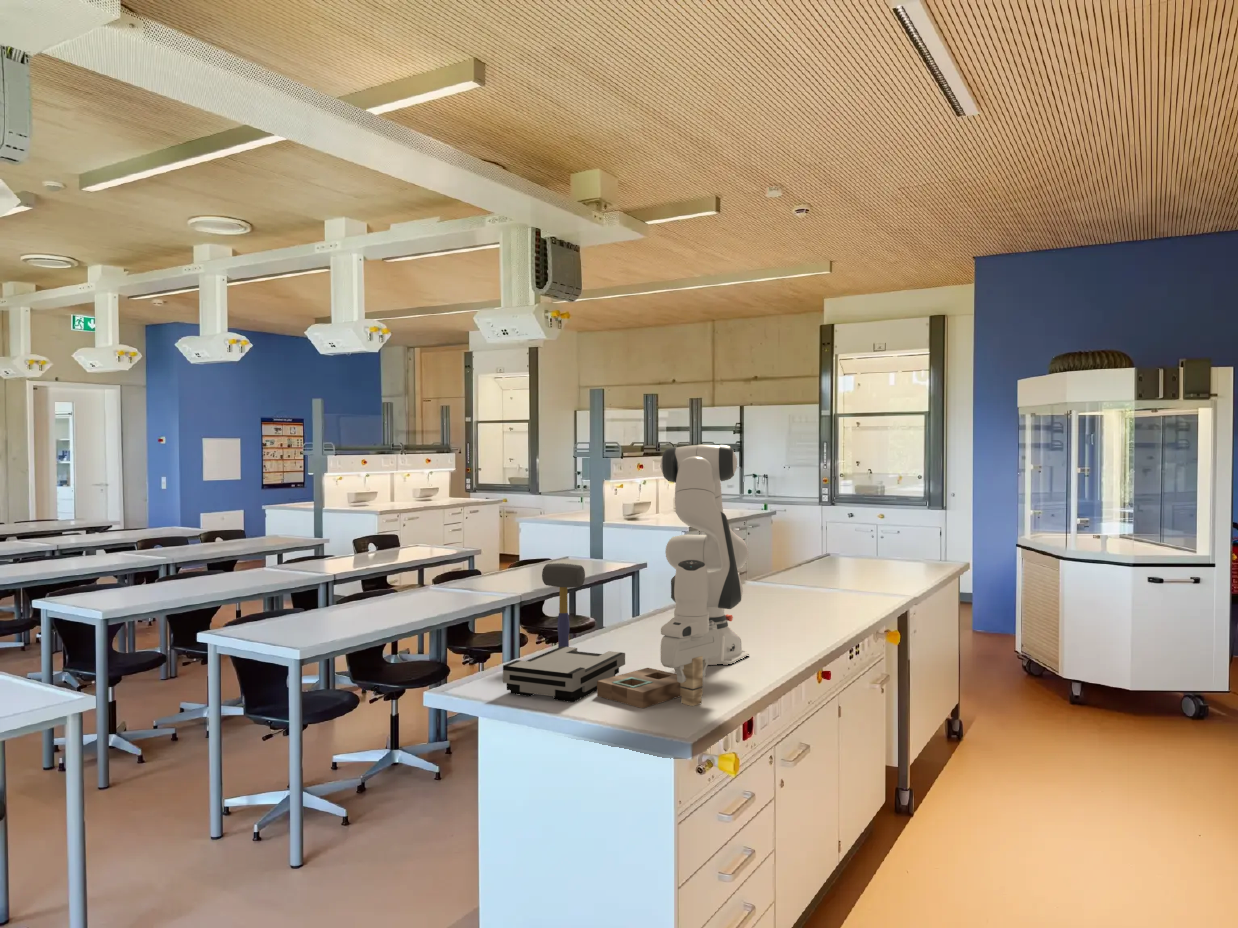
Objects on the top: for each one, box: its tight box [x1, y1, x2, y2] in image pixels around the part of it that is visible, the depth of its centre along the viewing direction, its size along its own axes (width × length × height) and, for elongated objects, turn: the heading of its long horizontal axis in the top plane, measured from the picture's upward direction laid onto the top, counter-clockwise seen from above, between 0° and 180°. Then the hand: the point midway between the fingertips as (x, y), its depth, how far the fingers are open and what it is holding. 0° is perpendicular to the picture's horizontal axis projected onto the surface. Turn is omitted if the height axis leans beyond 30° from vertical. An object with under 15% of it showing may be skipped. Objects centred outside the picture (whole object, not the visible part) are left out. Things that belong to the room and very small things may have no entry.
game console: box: [502, 646, 626, 703], centre depth 230 cm, size 21×32×8 cm, turn 155°
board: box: [596, 667, 681, 709], centre depth 220 cm, size 20×16×4 cm
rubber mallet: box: [541, 562, 586, 648], centre depth 260 cm, size 12×8×30 cm, turn 68°
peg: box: [680, 656, 704, 707], centre depth 212 cm, size 4×4×12 cm
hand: (691, 679), depth 212 cm, fingers open, 6 cm apart
